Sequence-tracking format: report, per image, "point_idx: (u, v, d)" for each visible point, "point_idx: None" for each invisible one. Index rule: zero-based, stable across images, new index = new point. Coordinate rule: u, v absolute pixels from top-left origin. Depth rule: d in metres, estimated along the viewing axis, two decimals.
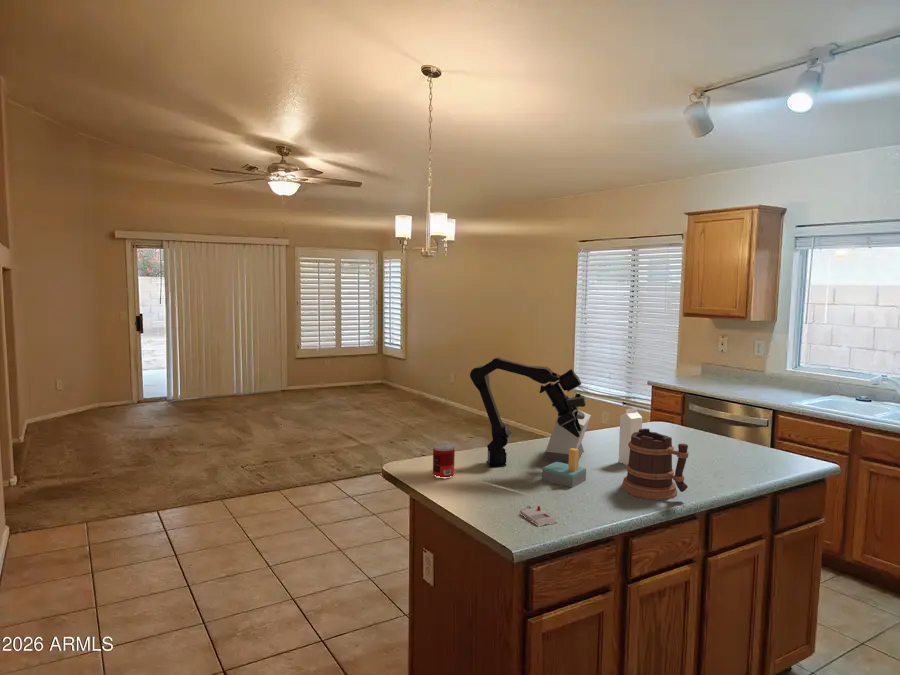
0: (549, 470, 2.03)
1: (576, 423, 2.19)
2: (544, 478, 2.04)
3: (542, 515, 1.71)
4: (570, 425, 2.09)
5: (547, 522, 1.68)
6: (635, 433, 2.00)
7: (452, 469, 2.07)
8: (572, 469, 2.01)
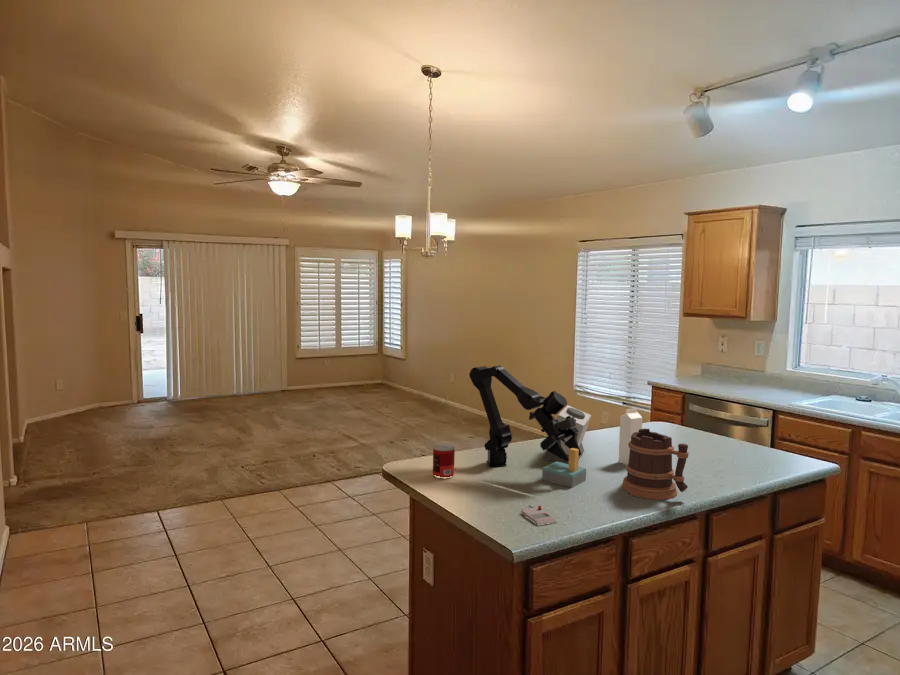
0: (549, 470, 2.03)
1: (575, 447, 2.07)
2: (544, 478, 2.04)
3: (543, 514, 1.72)
4: (556, 449, 2.00)
5: (547, 521, 1.68)
6: (635, 433, 2.00)
7: (452, 469, 2.07)
8: (572, 469, 2.01)
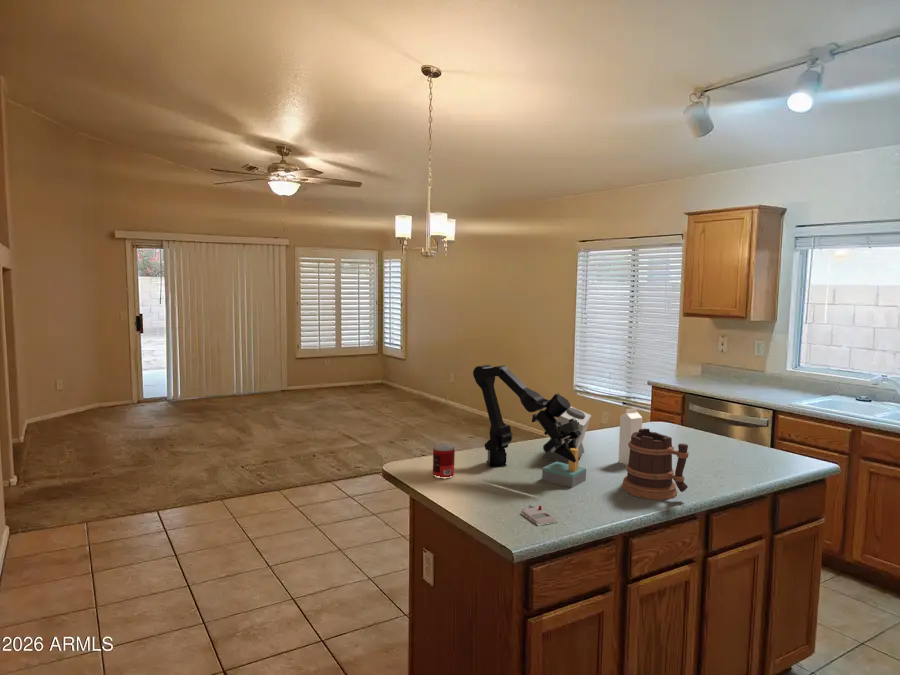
0: (549, 470, 2.03)
1: None
2: (544, 478, 2.04)
3: (543, 514, 1.72)
4: (564, 450, 2.01)
5: (547, 521, 1.68)
6: (635, 433, 2.00)
7: (452, 469, 2.07)
8: (572, 469, 2.01)
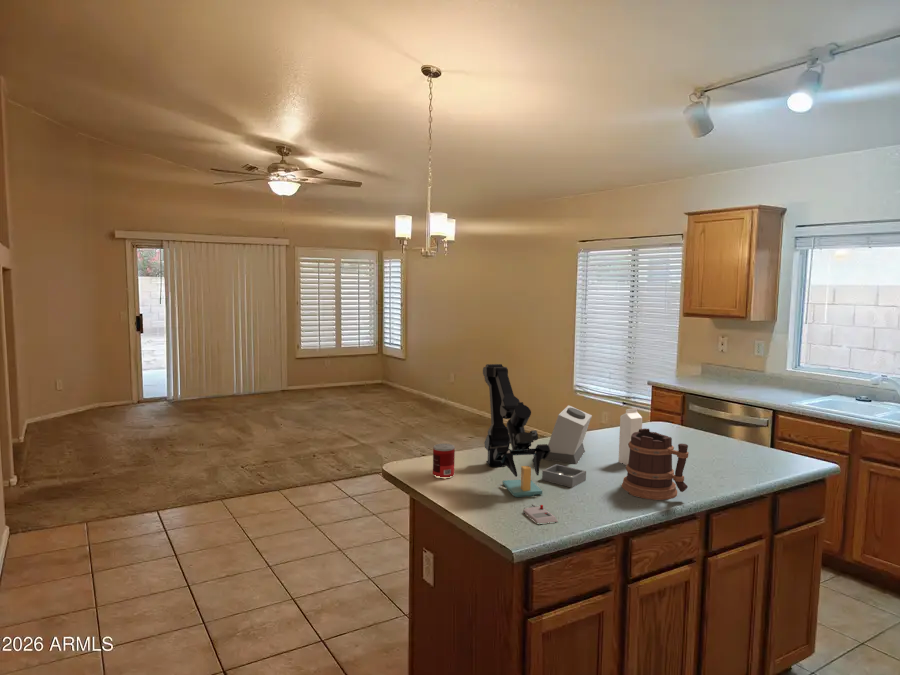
0: (505, 484, 1.96)
1: (536, 465, 1.92)
2: (544, 478, 2.04)
3: (544, 514, 1.72)
4: (509, 462, 1.92)
5: (547, 521, 1.68)
6: (635, 433, 2.00)
7: (452, 469, 2.07)
8: (522, 488, 1.90)
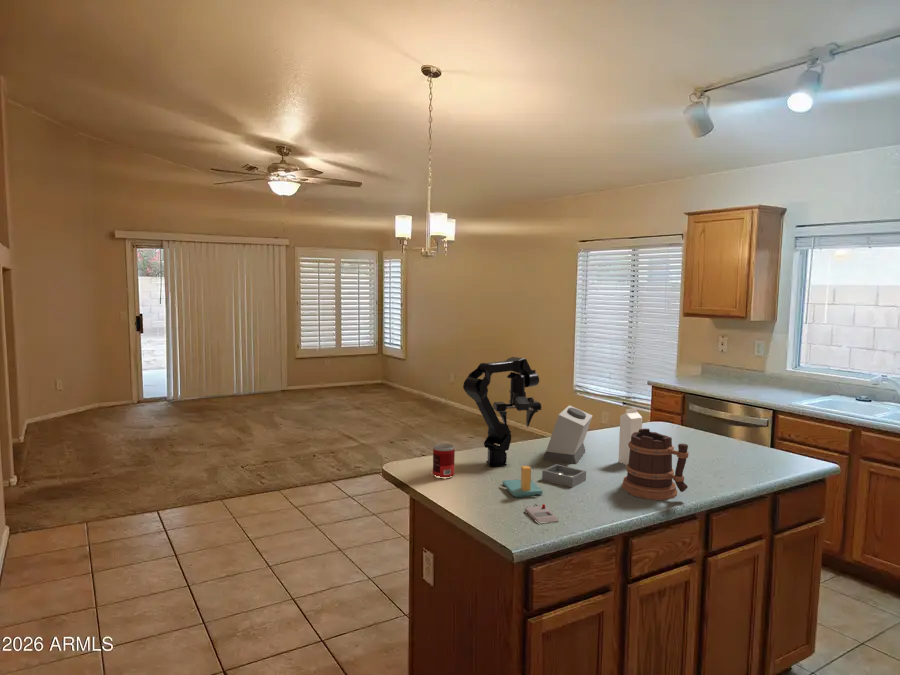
0: (505, 484, 1.96)
1: (528, 419, 2.31)
2: (544, 478, 2.04)
3: (545, 513, 1.73)
4: None
5: (548, 520, 1.69)
6: (635, 433, 2.00)
7: (452, 469, 2.07)
8: (522, 488, 1.90)
